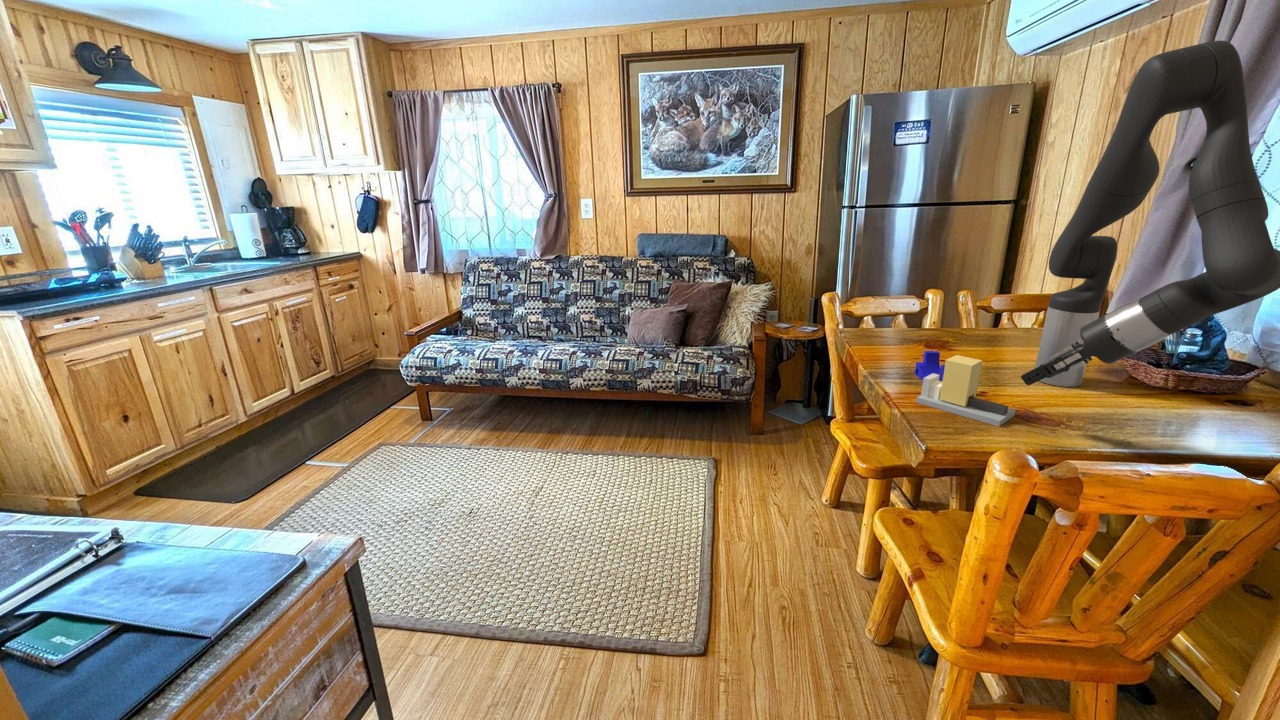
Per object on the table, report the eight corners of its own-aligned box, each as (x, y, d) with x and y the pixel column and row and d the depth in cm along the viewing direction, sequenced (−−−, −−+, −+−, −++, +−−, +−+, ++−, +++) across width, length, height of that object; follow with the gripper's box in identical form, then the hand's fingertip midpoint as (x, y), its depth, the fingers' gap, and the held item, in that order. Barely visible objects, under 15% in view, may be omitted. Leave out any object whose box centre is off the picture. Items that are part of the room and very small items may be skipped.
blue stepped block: (914, 373, 134) (917, 350, 133) (933, 374, 134) (937, 351, 132) (932, 391, 123) (936, 366, 121) (953, 392, 123) (958, 367, 121)
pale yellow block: (950, 393, 117) (956, 354, 115) (975, 400, 114) (982, 360, 111) (939, 399, 115) (945, 360, 112) (964, 406, 111) (972, 365, 108)
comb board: (933, 393, 122) (936, 371, 120) (1014, 415, 110) (1019, 391, 108) (916, 402, 117) (919, 379, 115) (998, 426, 105) (1003, 401, 103)
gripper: (1118, 306, 95) (1024, 356, 109) (1096, 320, 88) (998, 372, 101) (1150, 341, 93) (1050, 388, 106) (1130, 359, 86) (1025, 406, 99)
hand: (1025, 380), depth 104 cm, fingers closed
